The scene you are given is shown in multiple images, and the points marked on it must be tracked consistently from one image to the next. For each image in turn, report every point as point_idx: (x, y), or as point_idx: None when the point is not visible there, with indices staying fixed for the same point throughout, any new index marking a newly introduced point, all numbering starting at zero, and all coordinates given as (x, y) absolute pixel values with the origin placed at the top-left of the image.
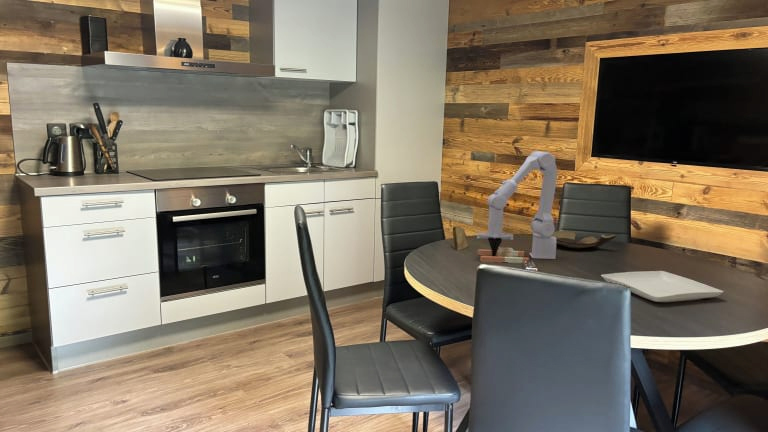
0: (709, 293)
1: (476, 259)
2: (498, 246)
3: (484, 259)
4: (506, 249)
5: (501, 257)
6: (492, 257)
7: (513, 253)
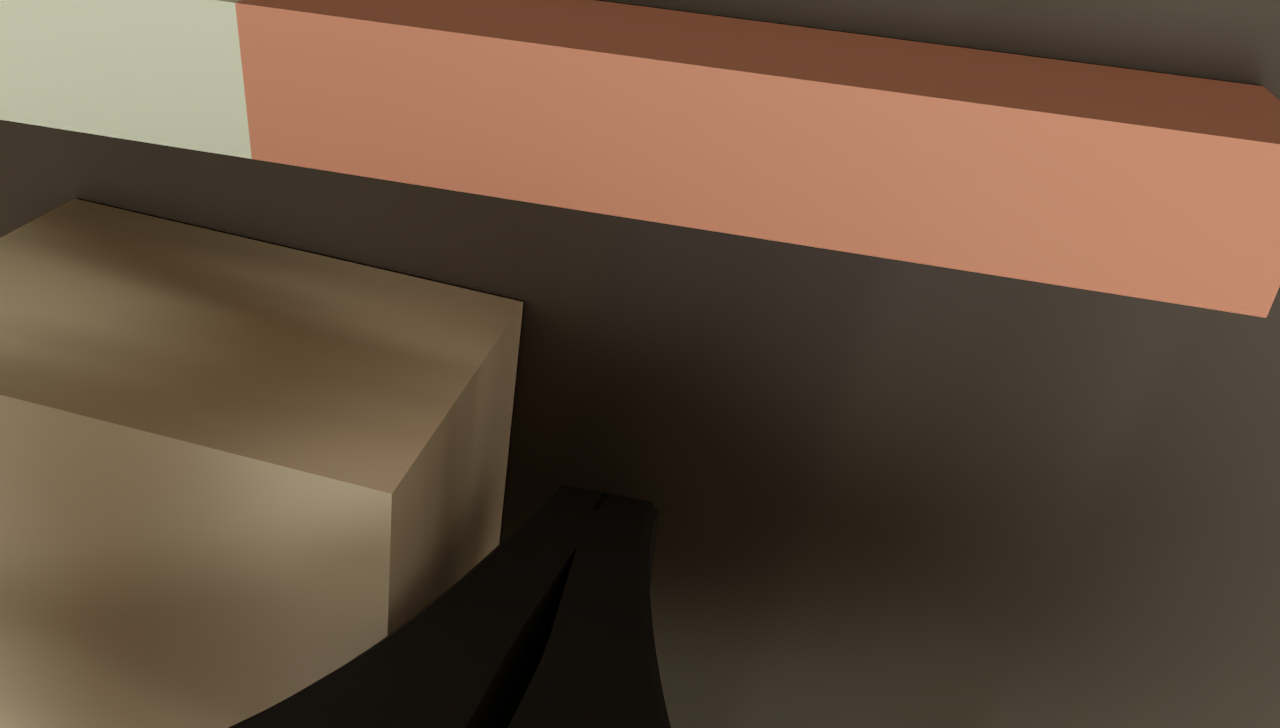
0: None
1: (1274, 419)
2: (318, 691)
3: (1123, 89)
4: (85, 621)
5: (372, 39)
6: (767, 68)
7: None
